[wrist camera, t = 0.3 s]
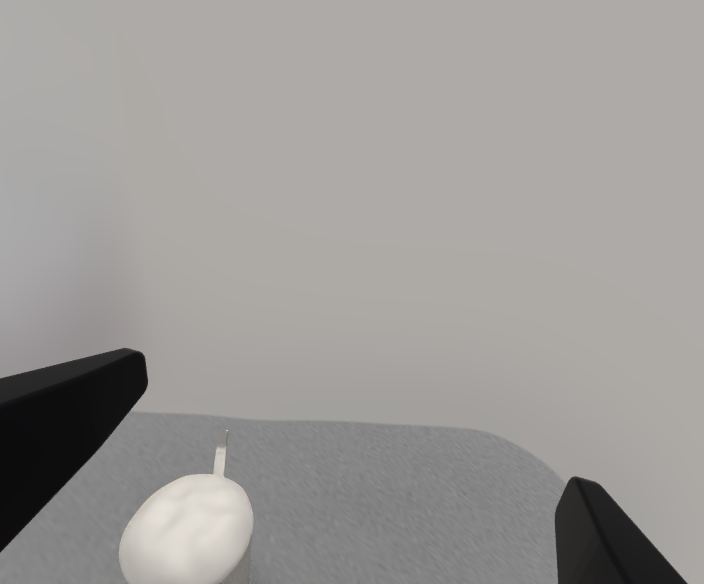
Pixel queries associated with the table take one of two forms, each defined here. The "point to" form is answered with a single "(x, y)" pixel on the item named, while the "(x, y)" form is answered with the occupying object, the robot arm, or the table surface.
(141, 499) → the table surface
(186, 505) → the milkshake
